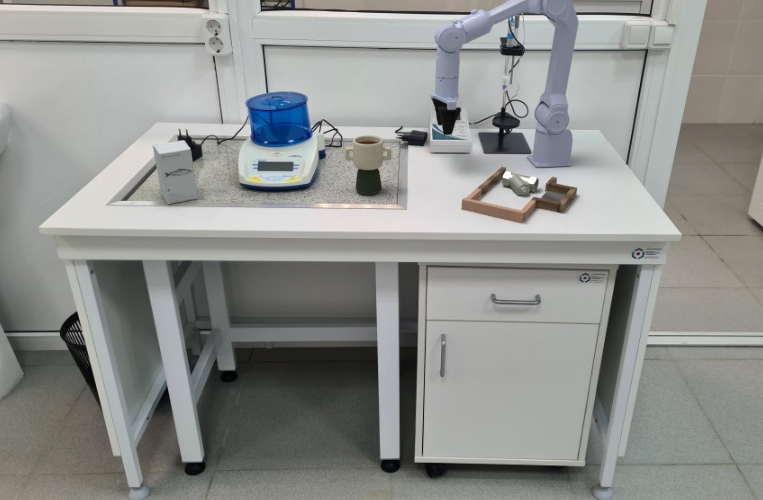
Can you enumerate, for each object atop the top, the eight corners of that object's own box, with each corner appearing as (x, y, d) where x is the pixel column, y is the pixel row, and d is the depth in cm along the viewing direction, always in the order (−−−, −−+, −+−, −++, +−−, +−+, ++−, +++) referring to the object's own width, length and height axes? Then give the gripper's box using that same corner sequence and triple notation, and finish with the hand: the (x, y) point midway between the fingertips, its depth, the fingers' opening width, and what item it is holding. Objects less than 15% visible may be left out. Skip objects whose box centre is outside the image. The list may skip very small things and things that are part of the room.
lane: (501, 174, 163) (501, 166, 162) (580, 189, 154) (581, 182, 153) (476, 195, 151) (476, 188, 150) (560, 214, 142) (562, 206, 141)
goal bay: (476, 195, 151) (477, 186, 150) (534, 208, 144) (536, 199, 143) (461, 209, 144) (462, 199, 143) (522, 223, 138) (523, 213, 137)
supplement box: (167, 205, 147) (157, 153, 141) (161, 194, 152) (151, 143, 146) (199, 199, 150) (191, 148, 144) (191, 188, 155) (184, 138, 149)
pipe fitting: (527, 201, 150) (538, 189, 155) (529, 186, 148) (539, 174, 152) (496, 193, 153) (507, 182, 158) (497, 179, 151) (508, 168, 156)
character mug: (390, 185, 157) (391, 134, 150) (391, 197, 150) (391, 144, 144) (346, 185, 157) (345, 134, 150) (345, 197, 150) (343, 145, 144)
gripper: (426, 69, 162) (424, 121, 169) (436, 84, 150) (434, 139, 156) (453, 69, 163) (450, 120, 169) (465, 83, 150) (462, 138, 157)
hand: (444, 129), depth 163 cm, fingers open, 7 cm apart
